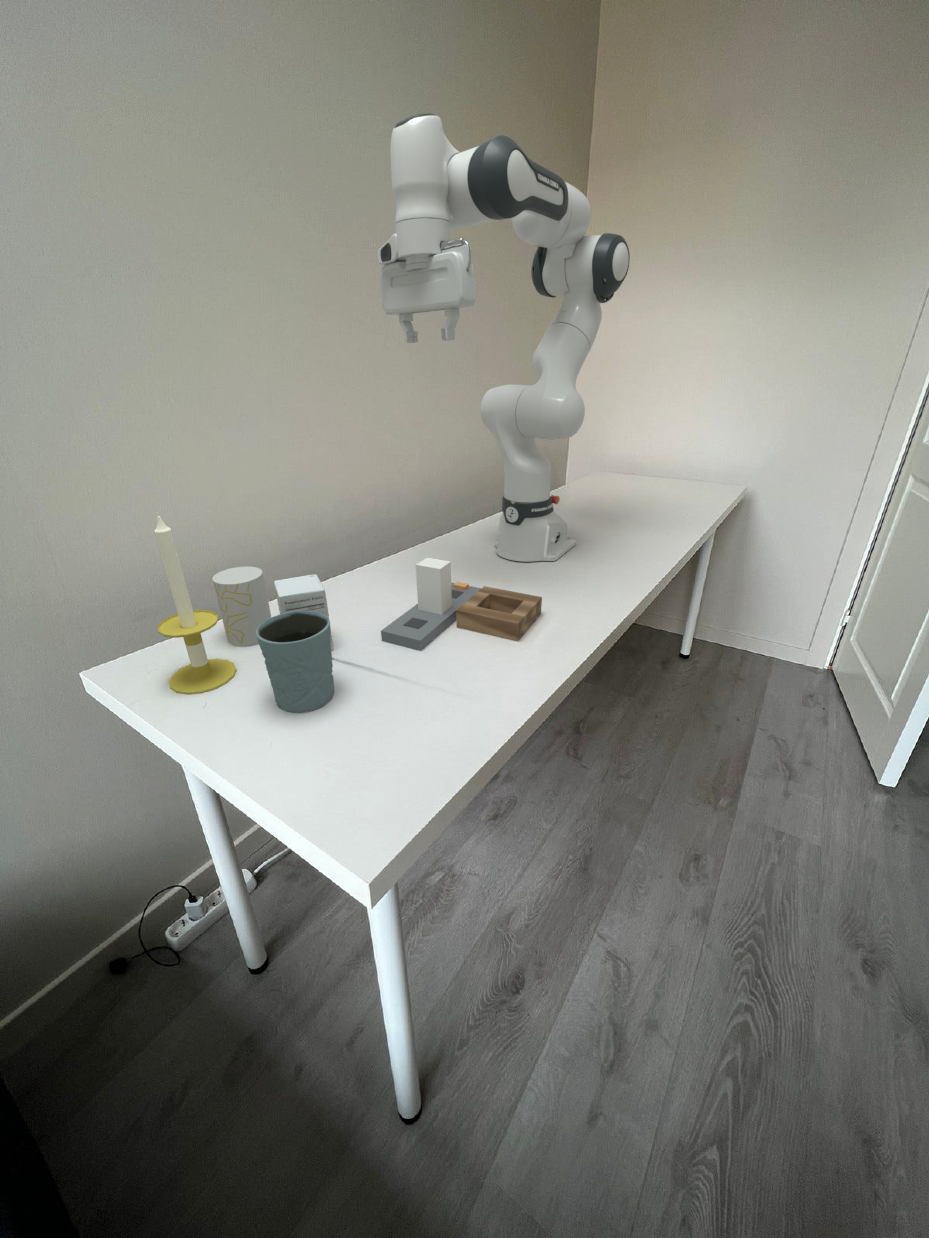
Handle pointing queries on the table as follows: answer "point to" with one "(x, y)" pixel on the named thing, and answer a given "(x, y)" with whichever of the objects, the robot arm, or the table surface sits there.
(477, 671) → the table surface
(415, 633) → the power strip
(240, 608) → the cup
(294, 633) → the teal plant pot
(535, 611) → the square wooden tray
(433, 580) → the white rectangular block
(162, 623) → the candle
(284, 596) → the supplement box
